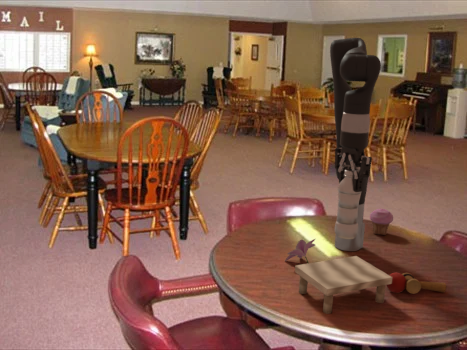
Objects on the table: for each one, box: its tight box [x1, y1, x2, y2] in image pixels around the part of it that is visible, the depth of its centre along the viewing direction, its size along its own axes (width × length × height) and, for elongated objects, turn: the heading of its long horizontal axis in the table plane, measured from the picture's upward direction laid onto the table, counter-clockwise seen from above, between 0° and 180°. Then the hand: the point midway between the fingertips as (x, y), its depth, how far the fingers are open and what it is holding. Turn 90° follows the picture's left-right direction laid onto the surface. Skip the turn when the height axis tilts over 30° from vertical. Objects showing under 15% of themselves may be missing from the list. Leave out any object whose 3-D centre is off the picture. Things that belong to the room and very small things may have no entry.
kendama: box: [386, 272, 447, 295], centre depth 171 cm, size 8×6×18 cm
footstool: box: [294, 255, 392, 315], centre depth 165 cm, size 22×17×8 cm
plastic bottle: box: [334, 168, 361, 239], centre depth 159 cm, size 6×7×20 cm
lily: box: [284, 238, 316, 264], centre depth 189 cm, size 12×12×10 cm
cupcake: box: [369, 207, 394, 236], centre depth 220 cm, size 9×9×10 cm
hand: (349, 188), depth 158 cm, fingers closed on plastic bottle, 6 cm apart
